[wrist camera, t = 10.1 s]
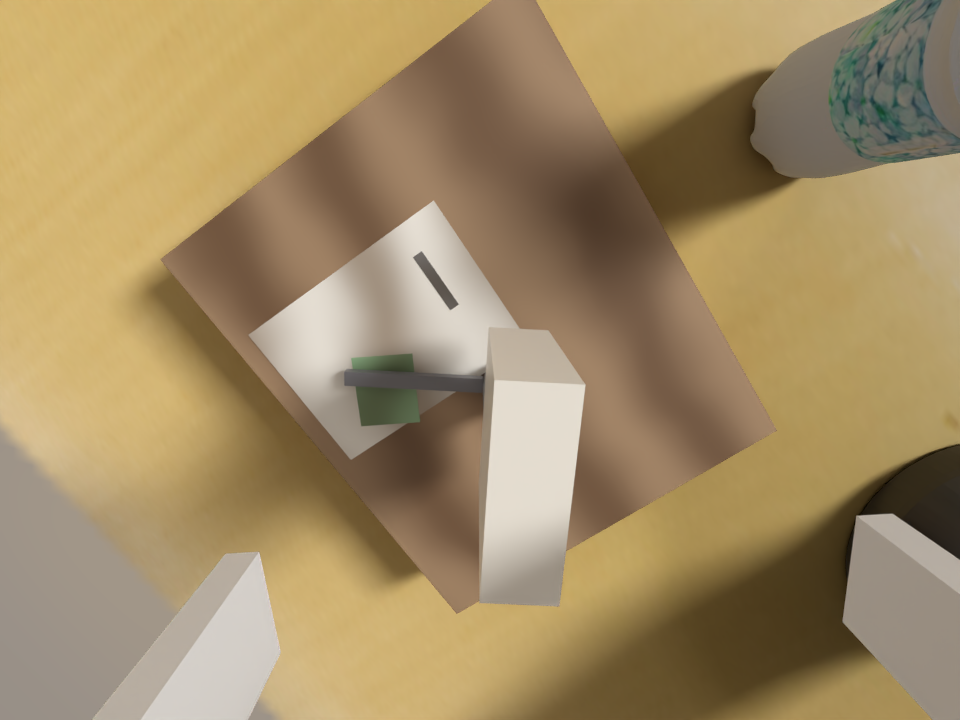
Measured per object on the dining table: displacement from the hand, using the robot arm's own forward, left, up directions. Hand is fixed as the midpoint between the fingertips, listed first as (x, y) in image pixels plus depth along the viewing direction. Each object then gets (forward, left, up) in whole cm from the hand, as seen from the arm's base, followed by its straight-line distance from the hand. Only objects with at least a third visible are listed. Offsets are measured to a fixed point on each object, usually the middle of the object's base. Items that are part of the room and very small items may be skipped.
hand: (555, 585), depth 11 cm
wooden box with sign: (0, -2, -19) cm, 19 cm away
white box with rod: (+3, -2, -14) cm, 14 cm away
